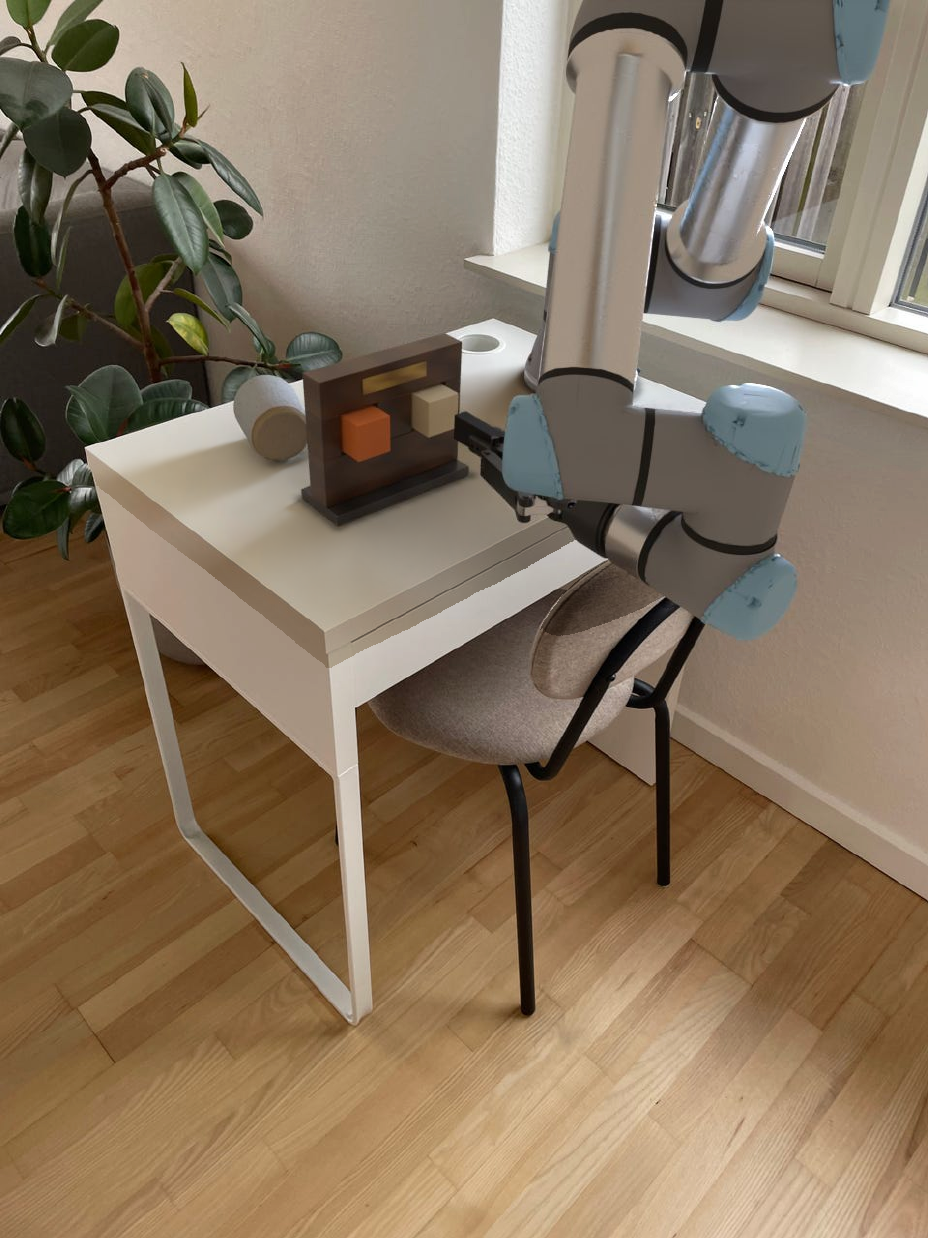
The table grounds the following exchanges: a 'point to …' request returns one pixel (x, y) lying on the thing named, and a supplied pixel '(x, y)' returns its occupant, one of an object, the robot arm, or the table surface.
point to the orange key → (365, 432)
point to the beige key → (433, 409)
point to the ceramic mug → (271, 417)
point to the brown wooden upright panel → (413, 456)
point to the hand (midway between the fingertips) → (459, 424)
